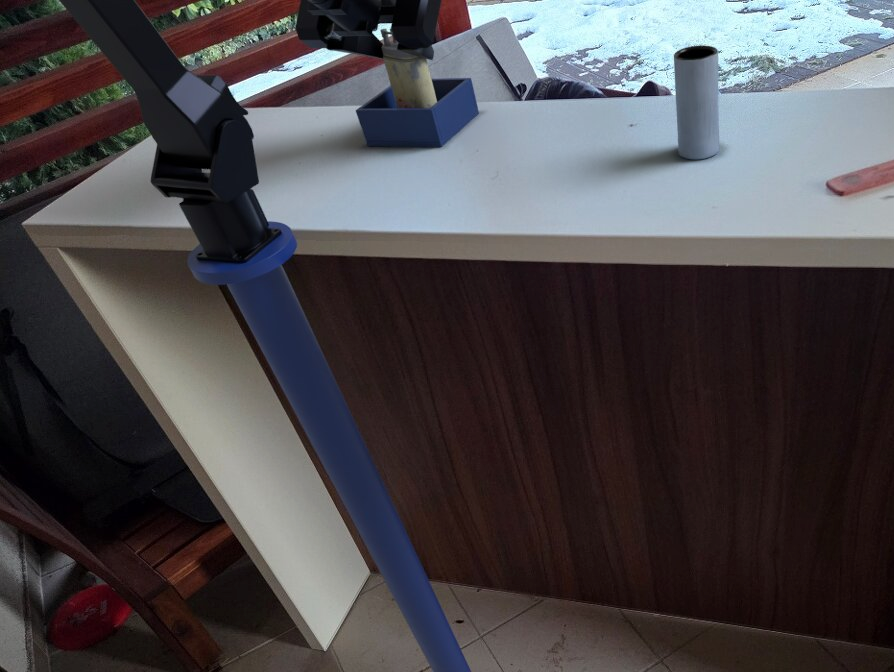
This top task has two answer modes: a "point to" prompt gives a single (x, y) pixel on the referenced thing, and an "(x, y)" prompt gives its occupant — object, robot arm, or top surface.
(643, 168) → the top surface
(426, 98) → the lighter
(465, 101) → the box
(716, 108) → the grey tall cylinder
